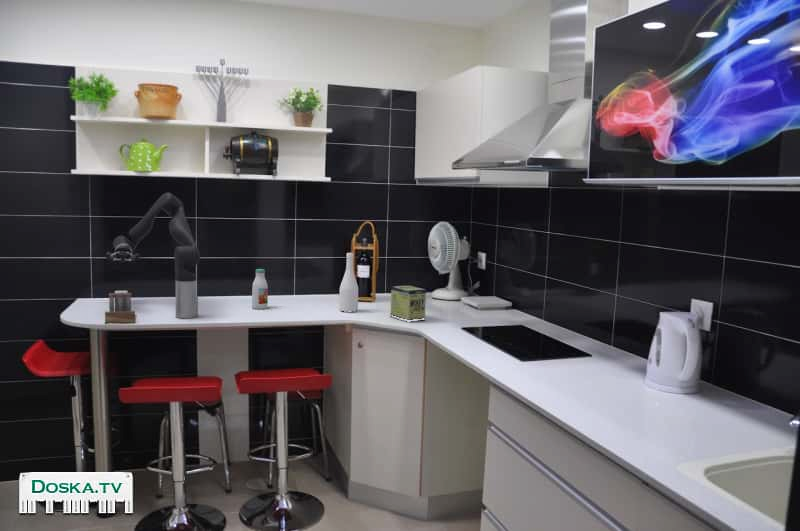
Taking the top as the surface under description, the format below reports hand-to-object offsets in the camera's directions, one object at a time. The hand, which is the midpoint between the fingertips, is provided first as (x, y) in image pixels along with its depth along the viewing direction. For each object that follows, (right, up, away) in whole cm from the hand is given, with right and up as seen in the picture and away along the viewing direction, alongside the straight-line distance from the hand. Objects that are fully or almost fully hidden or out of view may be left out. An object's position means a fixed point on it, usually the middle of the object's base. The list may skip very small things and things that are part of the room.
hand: (122, 259), depth 302 cm
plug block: (+2, -26, -6) cm, 27 cm away
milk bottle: (+56, -25, +33) cm, 70 cm away
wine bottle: (+102, -26, +34) cm, 110 cm away
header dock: (+2, -27, -6) cm, 28 cm away
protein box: (+132, -29, +20) cm, 137 cm away
